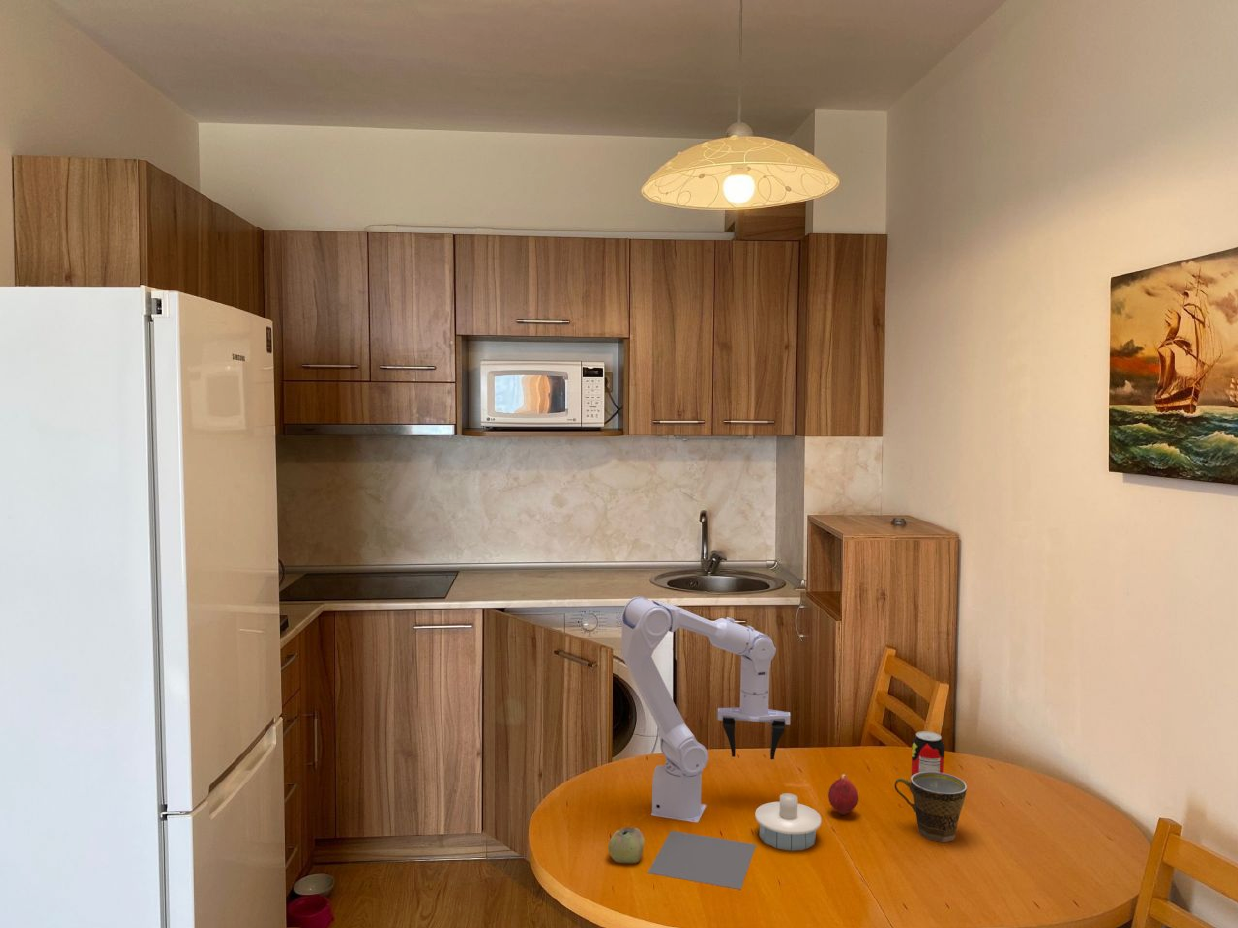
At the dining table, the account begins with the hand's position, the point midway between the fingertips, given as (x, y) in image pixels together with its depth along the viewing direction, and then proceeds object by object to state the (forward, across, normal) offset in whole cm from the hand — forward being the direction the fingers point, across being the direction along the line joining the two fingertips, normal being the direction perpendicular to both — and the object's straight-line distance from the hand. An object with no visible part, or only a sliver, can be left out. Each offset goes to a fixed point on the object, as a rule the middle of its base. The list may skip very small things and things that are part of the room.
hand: (752, 755), depth 182 cm
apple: (+10, -21, -28) cm, 36 cm away
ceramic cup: (+10, +33, -8) cm, 35 cm away
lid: (+5, +6, -15) cm, 18 cm away
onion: (+10, +18, -3) cm, 20 cm away
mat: (+9, -8, -26) cm, 29 cm away
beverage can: (+10, +36, +11) cm, 39 cm away
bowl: (+9, +6, -15) cm, 19 cm away
